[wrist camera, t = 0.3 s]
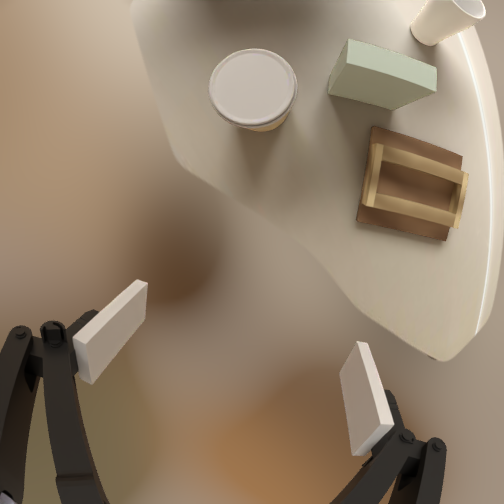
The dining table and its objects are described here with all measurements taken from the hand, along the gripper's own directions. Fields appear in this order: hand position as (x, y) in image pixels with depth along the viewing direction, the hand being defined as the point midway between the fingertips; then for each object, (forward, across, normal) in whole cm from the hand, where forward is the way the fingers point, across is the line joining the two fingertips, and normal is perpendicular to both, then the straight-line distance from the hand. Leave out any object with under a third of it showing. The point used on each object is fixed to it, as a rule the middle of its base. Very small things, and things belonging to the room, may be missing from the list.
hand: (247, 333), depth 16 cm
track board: (+27, +19, +12) cm, 35 cm away
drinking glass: (+27, +16, +39) cm, 50 cm away
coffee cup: (+27, -6, +17) cm, 33 cm away
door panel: (+27, +7, +23) cm, 37 cm away
